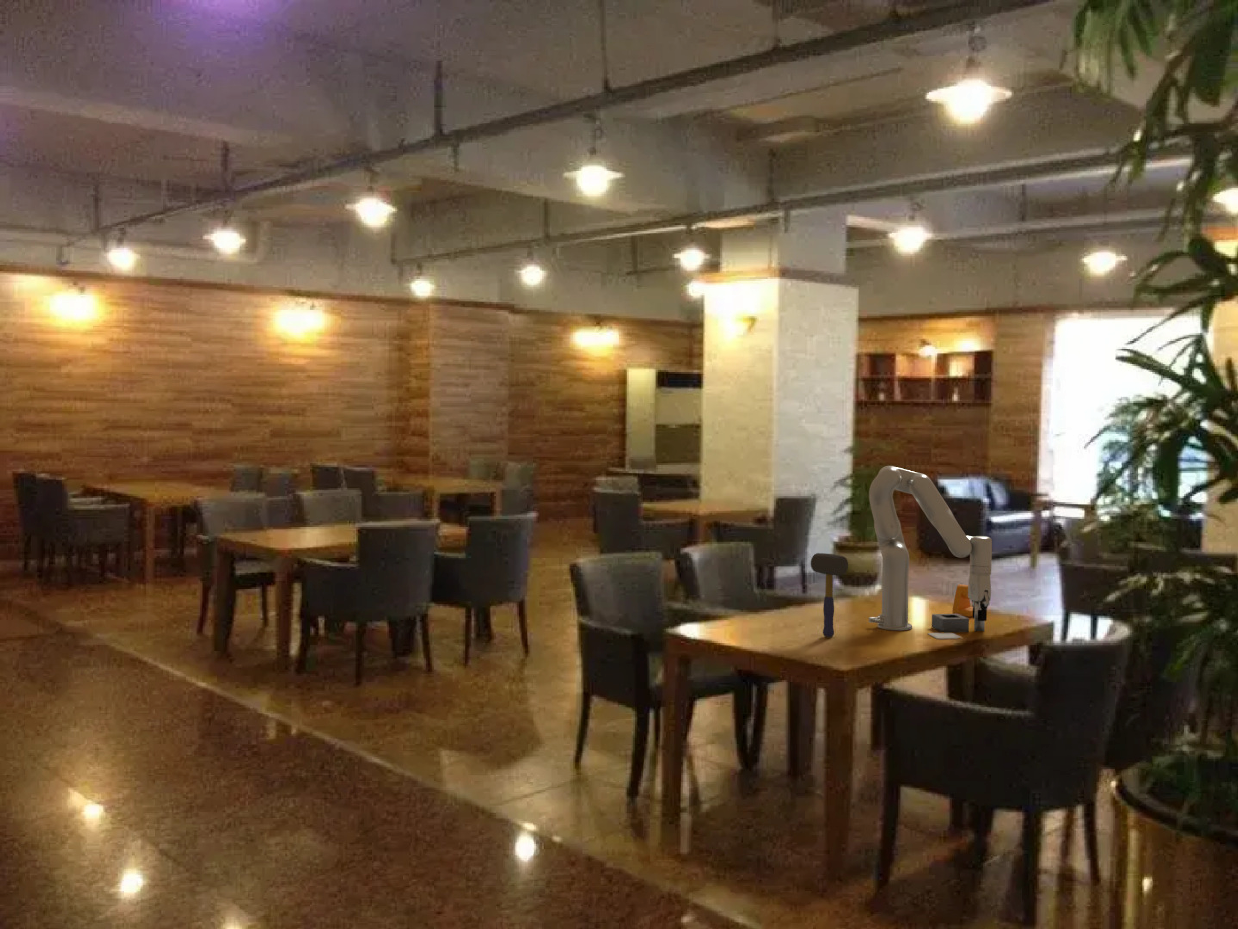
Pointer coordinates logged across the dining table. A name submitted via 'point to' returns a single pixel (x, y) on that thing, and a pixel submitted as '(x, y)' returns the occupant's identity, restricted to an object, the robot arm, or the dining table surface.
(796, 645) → the dining table surface
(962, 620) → the chuck block
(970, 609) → the bracket
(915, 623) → the dining table surface
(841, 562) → the rubber mallet
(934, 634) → the pad
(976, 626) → the steel peg
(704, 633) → the dining table surface
